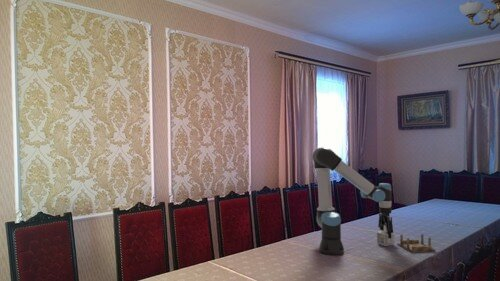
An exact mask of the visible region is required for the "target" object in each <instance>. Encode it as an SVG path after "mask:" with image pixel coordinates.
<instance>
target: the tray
mask: <svg viewBox="0 0 500 281" xmlns="http://www.w3.org/2000/svg"><path fill="white" fill-rule="evenodd" d="M399 237H400V238H399V239H400V241H399V242H397V243H396V245H397V246H398V247H401V248H402V249H404V250H405V251H407V252H409V253H422V252H424V253H425V252H436V249H435V248H432V241H431V240H432V238H431V237H430V236H428V238H427V241H428V242H427V243H428V245H426V244H424V241H425V240H424V233H420V241H419V239H410V237H406V239H403V234H399Z"/></svg>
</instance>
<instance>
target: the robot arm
mask: <svg viewBox="0 0 500 281" xmlns="http://www.w3.org/2000/svg"><path fill="white" fill-rule="evenodd" d="M312 160H313V164H314V165H313V166H314V167H313V168H314V170H316V178H317V179H316V180H317V192H318V193H317V195H318V197H317V198H318V206H317V208H316V216H315V219H316V220H315V221H316V223H317V225H318V226H319V227H320V228H321V239H320V243H319V245H318V251H319V253H321V254H323V255H329V256H338V255H339V256H340V255H343V254H344V253H345V248H344V245H343V242H342V230H341V229H342V226H341V224H342V219H341V214H339V213H338V212H336V210H335V209H336V208H335V207H333V201H332V200H333V199H332V198H333V197H332V196H333V195H332V183H331V182H332V181H331V179H332V178H331V171H335V173H337V174H339V175H340V176H341V177H342V178H344V179H346V181H347V182H349V183H350V184H352V185H353V186H354V187H356V188H357V189H358V190H360V196H361V198H363V199H370V200H373V201H374V202H377V203H378V205H379V206H378V207H379V209H378V211H379V213H378V215H379V216H378V225H377V227H378V228H379V229H380V225H381V224H386V228H387V243H391V233H394V227H393V217H392V216H391V217H390V214H391V213H392V203H393V202H392V185H391V184H390V183H387V182H386V183H385V182H380V183H378V186H376V185H374V184H373V183H372V182H370V181H369V180H368V179H367V178H365V177H364V176H363V175H361V174H360V173H358V171H356V170H354V168H352V167H350V166H349V165H348V164H347V163H345V161H343V159H342V157H341V156H339V155H338V154H336V152H335V151H333V150H332V149H331V148H328V147H323V146H321V147H318V148H316V149H315V150H314V152H313V153H312Z"/></svg>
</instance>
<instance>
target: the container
mask: <svg viewBox="0 0 500 281" xmlns="http://www.w3.org/2000/svg"><path fill="white" fill-rule="evenodd" d="M376 243H377V244H379V245H382V246H384V247H388V246H389V247H390V246H394V245H395V232H393V233H391V243H387V228H386V223H385V224H381V225H380V228H379V231H376Z"/></svg>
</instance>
